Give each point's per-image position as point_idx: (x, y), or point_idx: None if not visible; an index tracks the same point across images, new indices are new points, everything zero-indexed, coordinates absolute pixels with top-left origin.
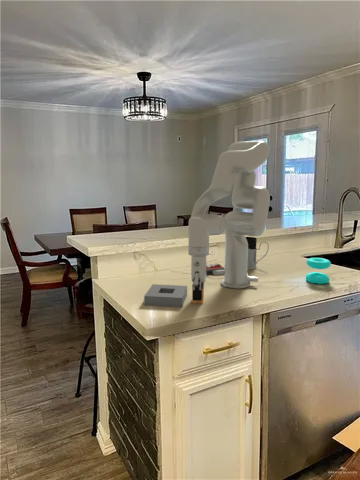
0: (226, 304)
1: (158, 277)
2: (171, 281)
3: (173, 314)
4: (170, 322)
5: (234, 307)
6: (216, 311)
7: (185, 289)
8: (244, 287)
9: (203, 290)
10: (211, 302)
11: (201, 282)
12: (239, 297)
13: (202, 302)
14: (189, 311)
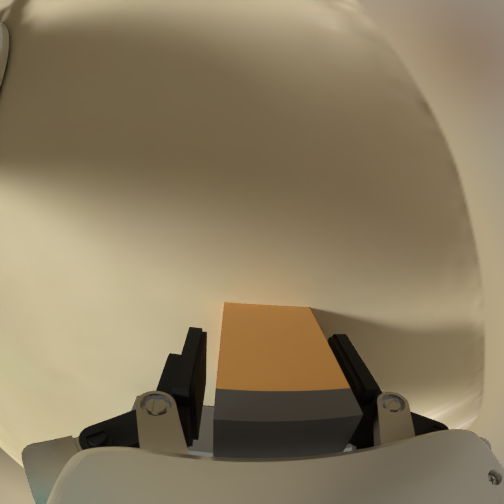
0: (328, 117)
1: (8, 436)
2: (11, 414)
3: (427, 407)
4: (476, 390)
5: (381, 75)
6: (446, 214)
7: (206, 453)
8: (7, 33)
9: (280, 362)
10: (287, 240)
11: (235, 440)
12: (155, 17)
13: (311, 313)
14: (420, 362)
